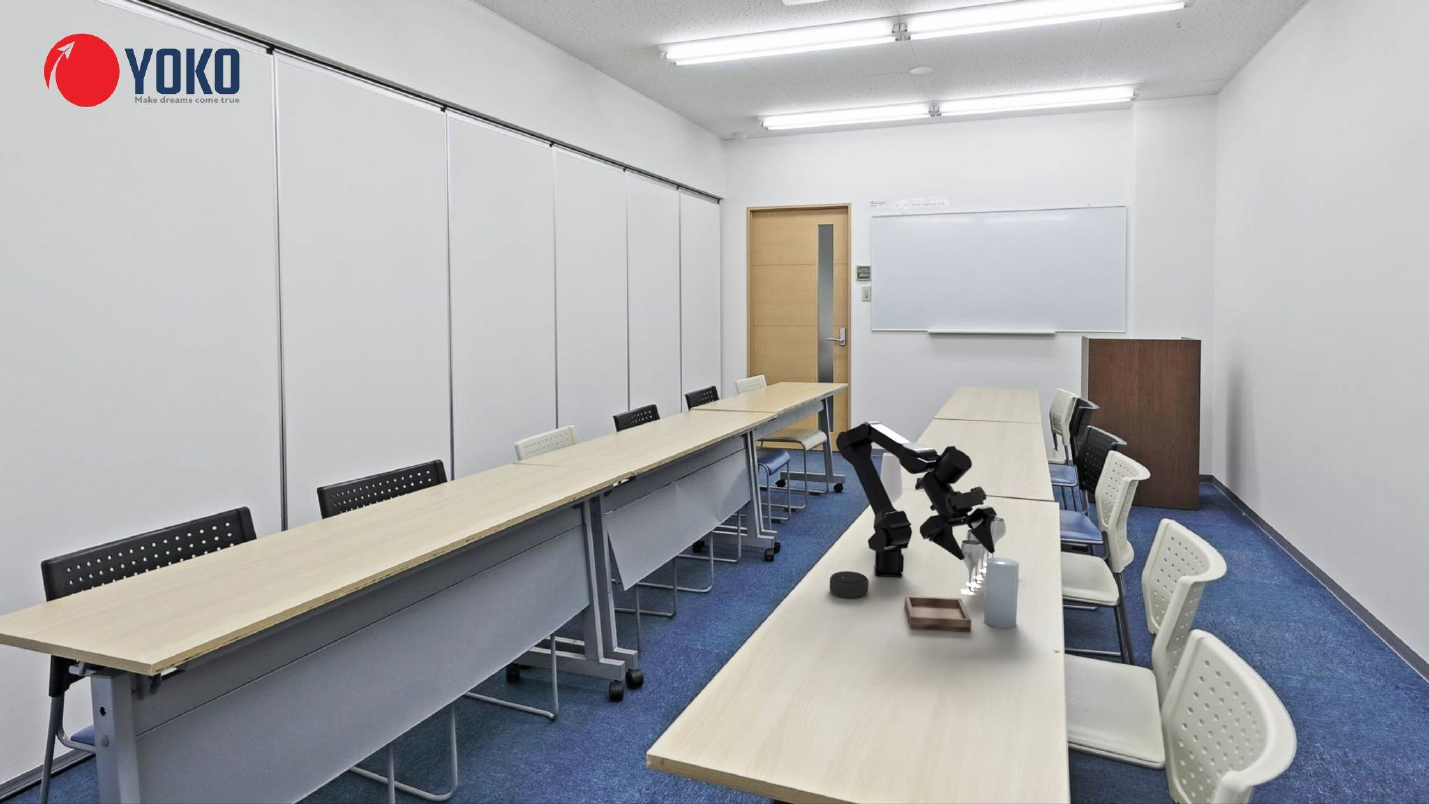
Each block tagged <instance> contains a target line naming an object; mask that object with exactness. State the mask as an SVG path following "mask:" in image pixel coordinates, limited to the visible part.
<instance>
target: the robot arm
mask: <svg viewBox="0 0 1429 804" xmlns="http://www.w3.org/2000/svg"><path fill="white" fill-rule="evenodd" d="M873 443H874V444H876V445H878V446H879V447H881V448H883V449H884V450H885V451H887V453H892V454H893V455H895V456H896V457H897V458H898V459H899V462H900V464H901V468H903V469H905V471H906V472H907V473H909V474H911V475H918V474H924V473H925V474H924V475H923V476H922V477H916V483H915V484H914V485H915V487H914V489H915V490H916V491H919V490H923V491H924V492H925V494H926V495H927V498H928V499H929V502H930V503H931V505H930V506H929V508H930V510H931V512H935V511H936V513H937V514H936V515H930V516H929V517H928V518H927V519H926V520H925V521H924V522H923V523H922V524H921V525H920V526H919V533H920V536H921V537H922V540H928V541H929V542H933V544H935V545H938V546H939V547H941V548H942V549H944V550H945V551H947V552H948V553H949V554H951V555H953V556H954V557H956V558H957V559H958V560H959V561H963V559H964V555H963V553H962V550H961V546H960V545H959V542H958V541H957V539H956V538H955V537H956V536H954V534H953V533H954V530H953V529H954V528H955V527H960V526H967V527H968V528H969V529H972V531H971V533H972V534H973V535H974V536H975V537H976V538H977V539H978V541H979V542H980V543H981V544H982V545H983V546H984V547H985V548H986V549H987V550H988V551H989V554H991V555H992V553H995V552H996V549H995V547H994V544H993V539H992V535H991V523H992V522H993V521H994V517H998V514H997V511H996V510H995V509H994V508H993V506H990V505H987V506H982V505H984V501H986V500H987V493H986V491H985V490H984V489H983V488H982V486H975V487H973V488H970V489H969V491H966V492H963V493H962V492H961V491H960V490H957V491H955V489H954V488H953V486H952V485H954V484H956V483H958V481H959V480H960V479H962V477H963V476H965V474H966V473H967V472H969V471H970V470H971V468H972V466H973V461H972V459H971V457H970V456H969V455H967V454H966V453H965V452H964V451H962V450H960V449H957V447H956V445H948V446H946V447H945V448H944V450H943V452H942V453H941V454H940V453H938V452H937V450H936V449H935V448H934V447H933V448H932V447H931V446H929V445H928V446H927V445H925V444H920V443H915V442H912V441H909V440H907V439H906V438H905V437H903V436H901V435H899V434H897V433H896V432H895V431H893V430H891V429H890V428H888V427H886V426H885V425H883V423H882V422H881V421H879V420H874V421H873V420H872V421H863V422H862V423H861V424H859V425H857V426H855V427H853V428H850V429H848V430H845V431H843V430H842V431H841V432H839V433H838V435H837V437H836V440H835V445H836V449H837V450H838V452H839V453H840V455H841V456H842V458H843V459H844V460H845V461H847V462H848V463H850V464H851V466H852V467H853V468H854V471H855V473H856V475H857V478H858V480H859V482H860V485H861V487H862V489H863V491H864V494H865V495H866V498H867V500H868V503H869V505H870V507H871V509H872V512H873V514H874V521H873V530H874V533H873V534H872V535H871V536H870V537H869V538H868V539H867V544H868V548H869V549H870V550H872V551H874V565H873V571H874V576H876V577H899V578H901V577H903V573H904V566H905V565H904V564H905V562H904V561H905V556H904V554H903V552H902V549H908V547H909V544H910V541H911V539H912V535H913V530H912V527H911V526H912V523H911V522H910V521H909V518H908V516H907V513H906V512H905V511H904V510H897V509H896V508H895V507H894V506H893V503H891V501H890V499H889V497H888V494H887V492H886V490H885V488H884V486H883V484H882V481H881V479H880V475H879V473H878V470H877V468H876V465H875V463H874V462H873V460H872V452H873V446H872V444H873ZM979 505H980V507H977V508H975V510H974V509H973V507H976V506H979ZM968 513H970V514H968Z"/></svg>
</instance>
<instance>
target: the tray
mask: <svg viewBox="0 0 1429 804" xmlns="http://www.w3.org/2000/svg"><path fill="white" fill-rule="evenodd" d="M904 609H905V612H906V616H907V621H908V625H909V628H910V629H912V630H926V631H927V630H928V631H945V632H946V631H947V632H965V633H971V632H972V618H971V617H970V615H969V612H968V610H967V608H966V606H965V604H964V602H963V599H962V598H957V597H942V596H941V597H940V596H922V595H921V596H919V595H905V596H904Z"/></svg>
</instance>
